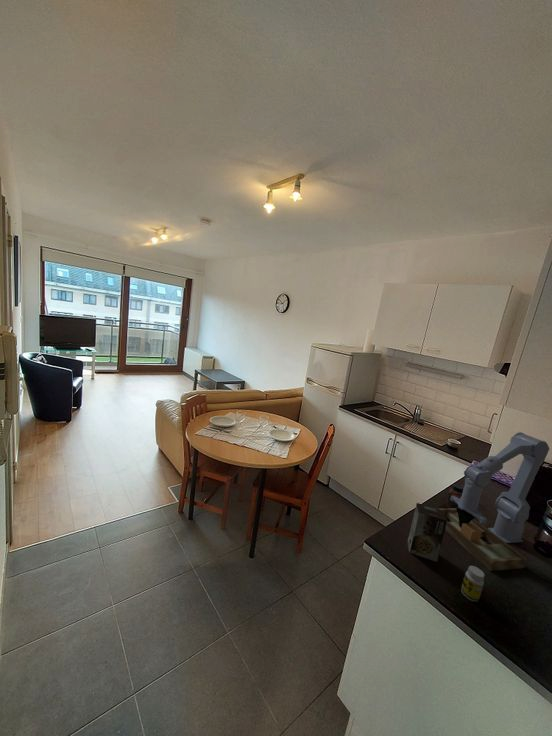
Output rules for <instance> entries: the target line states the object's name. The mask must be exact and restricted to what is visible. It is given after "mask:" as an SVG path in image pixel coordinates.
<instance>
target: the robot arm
mask: <svg viewBox="0 0 552 736" xmlns="http://www.w3.org/2000/svg"><path fill="white" fill-rule="evenodd" d="M549 451H550V446H549V445H548V443H547V442H546V441H545V440H541V439H538V438H536V437H533V436H530V435H528V434H526V433H524V432H519V431H518V432H516V433H515V434H513V436H511V437H510V442H509V443H508V444H507V445H506V446H505V447H504V448H503V449H501V450H500V451H499V452H498V453H496V455H489V456H487V457H486V458H485V459H482V460H481V461H480V462H478V463H477V464H475V465H469V466H468V467H466V469H465V470H464V471H463V474H464V486H463V493H462V497H461V499H459V498H458V497H456V496H451V498H450V500H451V501H454V502H455V503H456V504H458V507H459V508H457V509H456V510H457V513H458V517H459V527H462V524H463V523H470V522H471V521H472V520H473V519H475V520H477V521H478V522H479V523H481V524H482V525H483V524H487V520H488V519H487V518H486V517H485V516H484V515H483V514H482V513H481V512H480V511H479V509H478V506H479V503H480V499H481V495H482V492H483V489H484V487H485V486H488V484H489V483H490V481H491V480H492V478H493V476H494V475H496V474H497V473H499V472H500V471H501V470H503V468H504V464H505V463H506V462H509V461H511V460H512V459H514V458H516V457H517V456H519V455H522V456H523V459H522V462H521V464H520V466H519V468H518V471H517V473H516V475H515V477H514V479H513V482H512V484H511V486H510V488H509V490H508V491H503V492H501V493H500V495H499V496H498V497H497V498H496V500H495V507H496V508H497V509H496V511H497V512H498V513H497V516H496V518H495V523H494V526H493V527H488V528H487V529H488V530H490V531H491V532H492V533H494V534H495V535H496V536H498V537H499V538H500V539H502V540H503V541H504V542H506V543H507V544H513V543H523V542H524V541H523V540H522V536H523V533H524V530H525V522H526V521H528V519H529V516H530V509H531V507H530V504H529V503H528V501H527V500H526V498H527V496H528V493H529V491H530V488H531V487H532V485H533V483H534V480H535V477H536V475H537V473H538V472H539V469H540V467H541V465H542V463H543V462H544V463H545V460H546V458H547V456H548V453H549Z"/></svg>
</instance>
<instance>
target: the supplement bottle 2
mask: <svg viewBox="0 0 552 736" xmlns="http://www.w3.org/2000/svg"><path fill="white" fill-rule="evenodd" d="M484 579H485V573H484V572H483V571H482V569H480V568H479V567H477V566H474V565H469V566H468V568H467V570H466V571H465V573H464V577H463V581H462V584H461V588H460V591H461V594H462V595H463V596H464V597H465V598H466V599H468V600H469V601H471V602H479V601H480V598H481V595H482V591H483V588H484V585H485V582H484Z"/></svg>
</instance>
